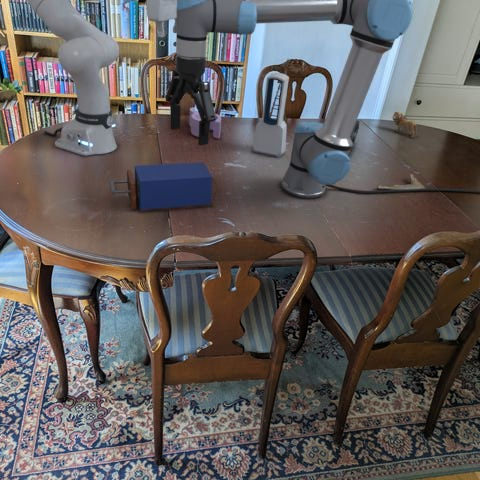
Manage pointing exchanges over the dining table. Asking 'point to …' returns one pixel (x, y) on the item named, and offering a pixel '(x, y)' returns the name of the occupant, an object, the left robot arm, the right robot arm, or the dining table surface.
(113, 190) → the drawer
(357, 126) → the handheld gaming console
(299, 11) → the right robot arm
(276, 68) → the miniature windmill
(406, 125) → the lion figurine
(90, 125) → the left robot arm
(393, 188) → the jawbone
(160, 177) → the navy blue box
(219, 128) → the clip
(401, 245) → the dining table surface
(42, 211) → the dining table surface
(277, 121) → the electronic device
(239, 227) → the dining table surface
